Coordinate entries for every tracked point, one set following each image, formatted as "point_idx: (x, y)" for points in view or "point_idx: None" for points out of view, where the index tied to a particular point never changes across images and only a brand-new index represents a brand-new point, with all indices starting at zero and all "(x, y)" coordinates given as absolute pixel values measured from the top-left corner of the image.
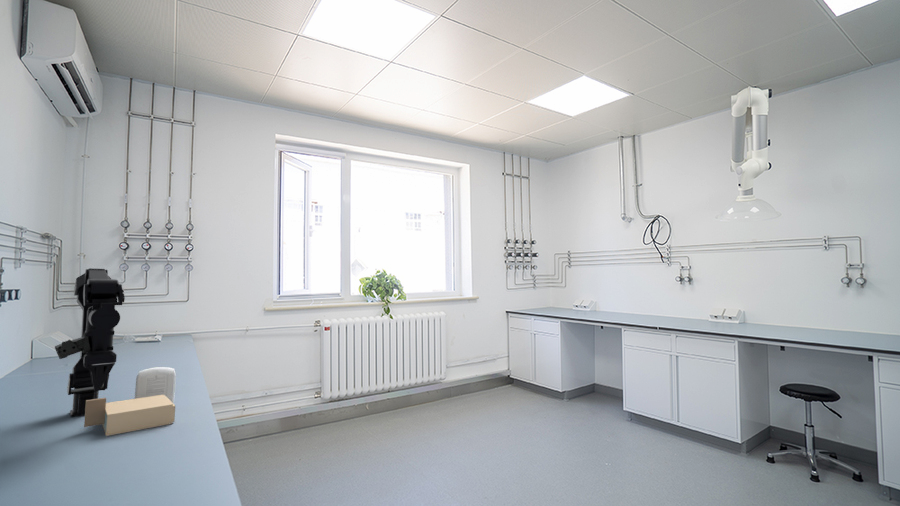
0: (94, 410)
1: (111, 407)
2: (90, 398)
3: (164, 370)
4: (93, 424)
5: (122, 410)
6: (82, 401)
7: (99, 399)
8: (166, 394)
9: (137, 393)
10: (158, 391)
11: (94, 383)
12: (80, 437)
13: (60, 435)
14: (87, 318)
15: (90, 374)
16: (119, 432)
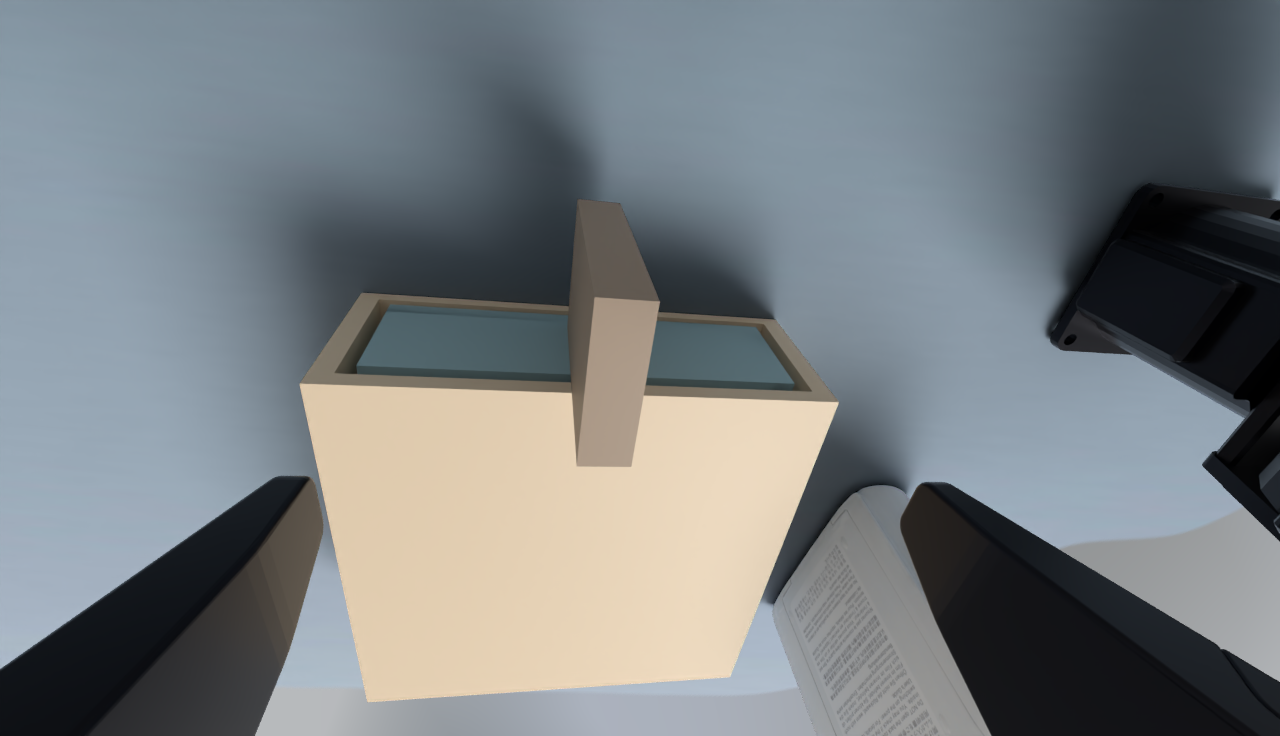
0: (579, 318)
1: None
2: (1181, 347)
3: None
4: (572, 263)
5: (402, 483)
6: (1201, 289)
7: (583, 414)
8: (808, 665)
9: (912, 587)
10: (840, 664)
11: (120, 600)
12: (460, 145)
13: (660, 25)
14: None
15: (1098, 598)
16: None
